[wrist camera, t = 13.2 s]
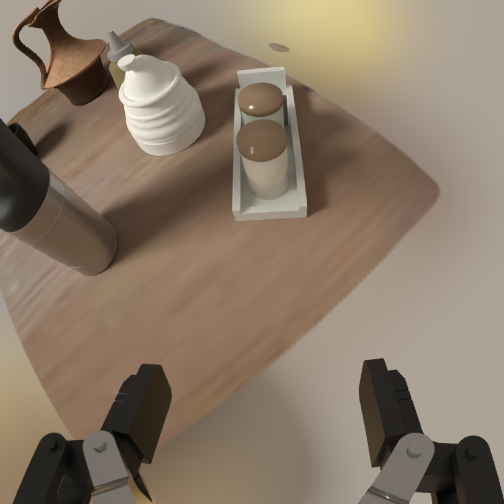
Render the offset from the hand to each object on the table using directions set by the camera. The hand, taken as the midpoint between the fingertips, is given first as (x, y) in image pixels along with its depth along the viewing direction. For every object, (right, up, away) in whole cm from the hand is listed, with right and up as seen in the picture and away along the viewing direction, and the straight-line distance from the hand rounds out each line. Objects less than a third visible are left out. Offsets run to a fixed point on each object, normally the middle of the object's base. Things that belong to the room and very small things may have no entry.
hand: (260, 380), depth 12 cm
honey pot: (-15, +27, +40) cm, 51 cm away
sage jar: (+2, +21, +35) cm, 41 cm away
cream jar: (+2, +15, +32) cm, 36 cm away
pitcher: (-39, +43, +50) cm, 77 cm away
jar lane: (+2, +21, +36) cm, 41 cm away
